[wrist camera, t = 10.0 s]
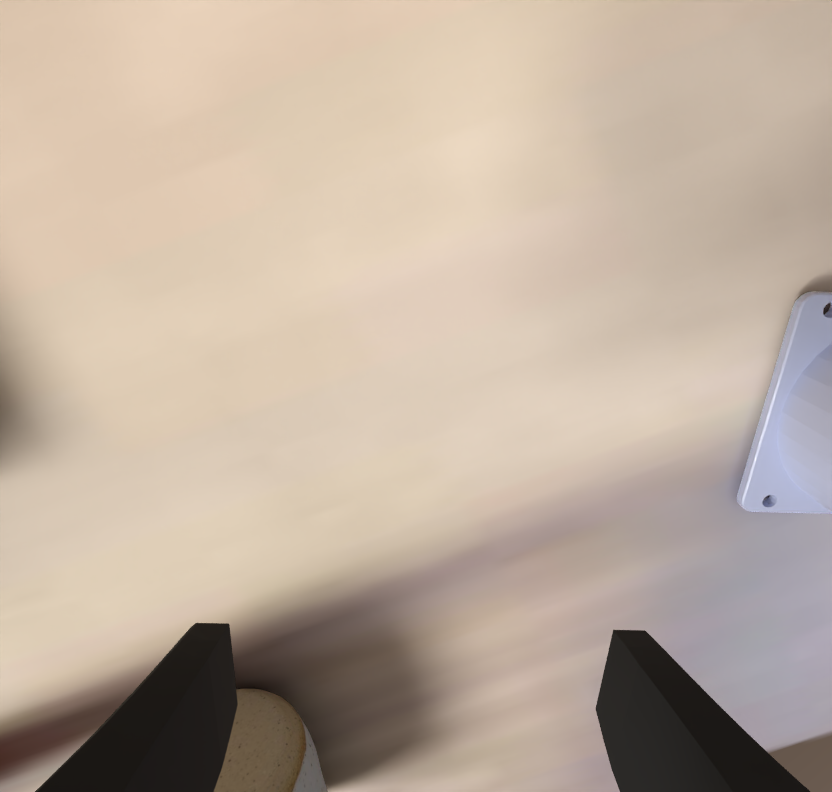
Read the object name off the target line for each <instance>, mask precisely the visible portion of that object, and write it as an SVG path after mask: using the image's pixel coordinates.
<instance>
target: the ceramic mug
mask: <svg viewBox="0 0 832 792" xmlns="http://www.w3.org/2000/svg"><path fill="white" fill-rule="evenodd" d="M236 693H237V702H238V706H237V710H236V714H235V718H234V722H233V727H232V731H231V735H230V739H229V743H228V747H227V751H226V755H225V759H224V762H223V766H222V769H221V772H220V775H219V778H218V781H217V784H216V787H215V789H214V792H328V791H327V787H326V784H325V781H324V778H323V775H322V771H321V767H320V763H319V759H318V755H317V751H316V748H315V746H314V743H313V740H312V738H311V735H310V733H309V731H308V729H307V728H306V726H305V724H304V722H303V721H302V719H301V717H300V716H299V714H298V712H297V711H296V710H295V709H294V708H293V707H292V706H291V705H290V704H289V703H288V702H287V701H286V700H285V699H283V698H282V697H281V696H278V695H276V694H273V693H271V692H268V691H265V690H260V689H247V688H244V689H236Z"/></svg>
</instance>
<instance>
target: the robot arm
mask: <svg viewBox="0 0 832 792" xmlns="http://www.w3.org/2000/svg"><path fill="white" fill-rule="evenodd" d="M829 302H830V303H831V306H830V309H829V311H828V312H827V313H825V314H823V309H824V307H825V306H826V305H827V304H828V303H829ZM768 495H770V496H769V498H768V499H767V500H765V501H763V499H764V498H765V497H766V496H768ZM737 501H738V503H739V504H740V505H741V506H742V507H743V508H744V509H745V510H747V511H750V512H780V513H821V514H832V292H819V291H812V292H806V293H805V294H803V295H801V296H800V297H799V298H798V299H797V300H796V302H795V304H794V306H793V309H792V312H791V315H790V319H789V322H788V326H787V329H786V332H785V336H784V339H783V342H782V346H781V349H780V353H779V356H778V359H777V363H776V366H775V369H774V373H773V376H772V380H771V383H770V386H769V390H768V393H767V396H766V400H765V403H764V406H763V410H762V413H761V417H760V420H759V423H758V427H757V430H756V433H755V437H754V440H753V444H752V447H751V450H750V454H749V457H748V460H747V464H746V467H745V471H744V474H743V477H742V481H741V484H740V487H739V491H738V494H737ZM237 706H238V702H237V693H236V683H235V674H234V665H233V655H232V646H231V636H230V627H229V624H218V623H196V624H194V625H193V626H192V627H191V628H190V629H189V630H188V631H187V632H186V633H185V635H184V636H183V637H182V638H181V639H180V640H179V641H178V643H177V644H176V645H175V646H174V647H173V648H172V649H171V650H170V652H169V653H168V654H167V655H166V656H165V657H164V658H163V660H162V661H161V662H160V663H159V664H158V665H157V666H156V667H155V669H154V670H153V671H152V672H151V673H150V674H149V675H148V676H147V677H146V679H145V680H144V681H143V682H142V683H141V684H140V685H139V686H138V687H137V688H136V690H135V691H134V692H133V693H132V694H131V695H130V696H129V697H128V698H127V699H126V700H125V701H124V702H123V703H122V704H121V706H120V707H119V708H118V709H117V710H116V711H115V712H114V713H113V714H112V715H111V716H110V717H109V718H108V719H107V720H106V721H105V723H104V724H103V725H102V726H101V727H100V728H99V729H98V730H97V731H96V732H95V733H94V734H93V735H92V736H91V737H90V738H89V739H88V740H87V741H86V742H85V743H84V744H83V745H82V746H81V747H80V748H79V749H78V750H77V751H76V752H75V753H74V754H73V755H72V756H71V757H70V758H69V759H68V760H67V761H66V762H65V763H64V764H63V765H62V766H61V767H60V768H59V769H58V770H57V771H56V772H55V773H54V774H53V775H52V776H51V777H50V778H49V779H48V780H47V781H46V782H45V783H44V784H43V785H42V786H41V787H39V788H38V789H37V790H36V791H35V792H214V789H215V787H216V784H217V781H218V778H219V775H220V772H221V769H222V766H223V762H224V759H225V755H226V751H227V747H228V743H229V739H230V735H231V731H232V727H233V722H234V718H235V714H236V710H237ZM596 712H597V716H598V719H599V723H600V727H601V731H602V735H603V739H604V743H605V746H606V750H607V754H608V757H609V761H610V764H611V768H612V771H613V774H614V776H615V779H616V782H617V785H618V787H619V790H620V792H810V791H809V790H808V789H807V788H806V787H804V786H803V785H802V784H801V783H800V782H799V781H798V780H797V779H795V778H794V777H793V776H792V775H791V774H790V773H789V772H788V771H787V770H786V769H784V767H782V766H781V765H780V764H779V763H778V762H777V761H776V760H775V759H774V758H773V757H772V756H770V755H769V754H768V753H767V752H766V751H765V750H764V749H763V748H762V747H761V746H760V745H759V744H758V743H757V742H756V741H755V740H754V739H753V738H752V737H751V736H750V735H748V734H747V733H746V732H745V731H744V730H743V729H742V728H741V727H740V726H739V725H738V724H737V723H736V722H735V721H734V720H733V719H732V718H731V717H730V716H729V715H728V714H727V713H726V712H725V711H724V710H723V709H722V708H721V707H720V706H719V705H718V704H717V703H716V702H715V701H714V700H713V699H712V698H711V697H710V696H709V695H708V694H707V693H706V692H705V691H704V690H703V689H702V688H701V687H700V686H699V685H698V684H697V683H696V682H695V681H694V680H693V679H692V678H691V677H690V676H689V675H688V674H687V673H686V672H685V671H684V670H683V669H682V668H681V666H680V665H679V664H678V663H677V662H676V661H675V660H674V659H673V658H672V657H671V656H670V655H669V654H668V653H667V652H666V651H665V650H664V649H663V648H662V647H661V646H660V645H659V644H658V643H657V642H656V641H655V640H654V639H653V638H652V637H651V636H650V635H649V634H648V633H647V632H646V631H640V630H613V634H612V638H611V643H610V647H609V652H608V656H607V661H606V665H605V670H604V674H603V679H602V683H601V688H600V692H599V696H598V701H597V705H596Z"/></svg>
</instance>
